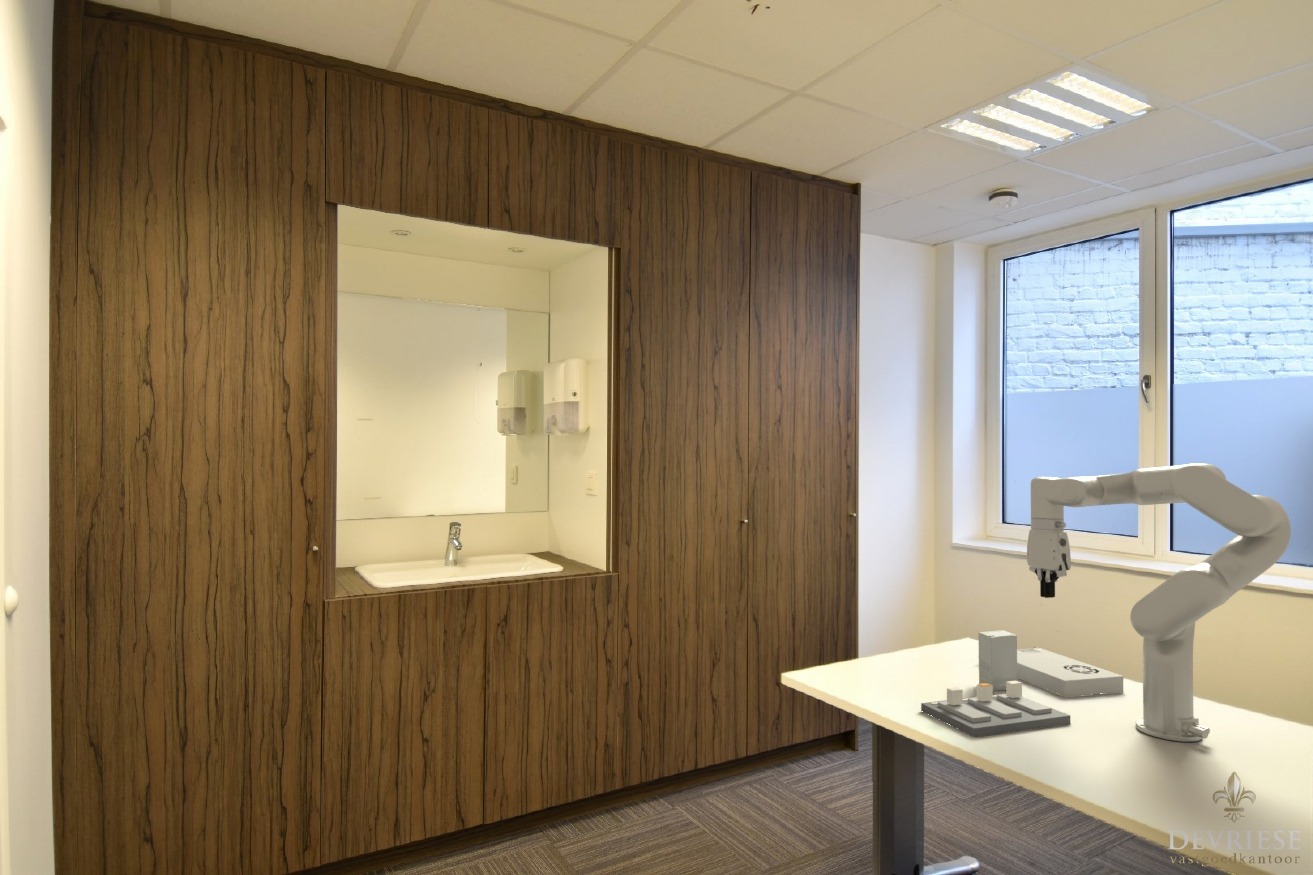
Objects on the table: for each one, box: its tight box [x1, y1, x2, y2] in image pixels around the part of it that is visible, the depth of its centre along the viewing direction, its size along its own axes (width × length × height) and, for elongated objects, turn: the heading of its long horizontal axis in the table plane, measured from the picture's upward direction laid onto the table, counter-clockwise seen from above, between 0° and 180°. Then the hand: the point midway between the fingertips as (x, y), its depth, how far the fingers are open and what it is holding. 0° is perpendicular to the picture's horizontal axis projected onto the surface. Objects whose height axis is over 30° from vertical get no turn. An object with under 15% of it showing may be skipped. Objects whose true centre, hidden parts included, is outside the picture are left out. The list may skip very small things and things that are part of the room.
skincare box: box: [977, 629, 1018, 692], centre depth 204 cm, size 8×6×15 cm
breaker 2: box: [1005, 680, 1023, 698], centre depth 186 cm, size 2×3×4 cm, turn 109°
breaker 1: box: [946, 686, 964, 705], centre depth 180 cm, size 2×3×4 cm, turn 109°
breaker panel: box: [920, 692, 1071, 738], centre depth 180 cm, size 18×28×3 cm, turn 109°
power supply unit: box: [1017, 646, 1124, 698], centre depth 214 cm, size 19×33×5 cm, turn 14°
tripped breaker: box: [976, 683, 994, 702], centre depth 183 cm, size 2×3×4 cm, turn 109°
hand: (1047, 596), depth 191 cm, fingers closed
